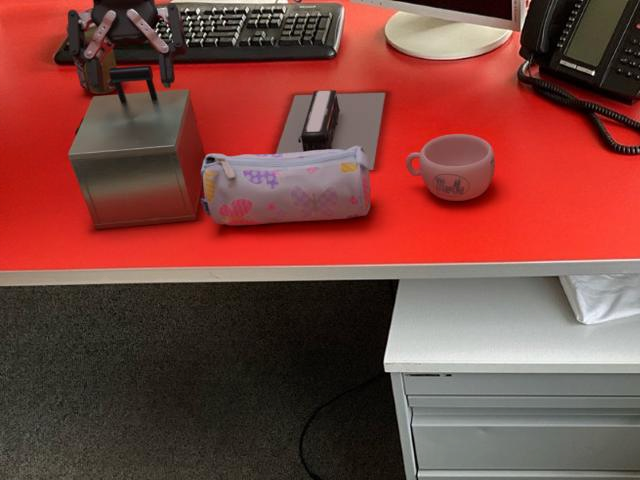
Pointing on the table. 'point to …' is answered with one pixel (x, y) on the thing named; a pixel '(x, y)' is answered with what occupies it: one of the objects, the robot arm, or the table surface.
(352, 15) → the table surface
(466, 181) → the mug
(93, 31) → the beverage can
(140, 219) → the box
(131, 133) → the freezer lid
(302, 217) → the pencil case
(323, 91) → the flat grey base plate
